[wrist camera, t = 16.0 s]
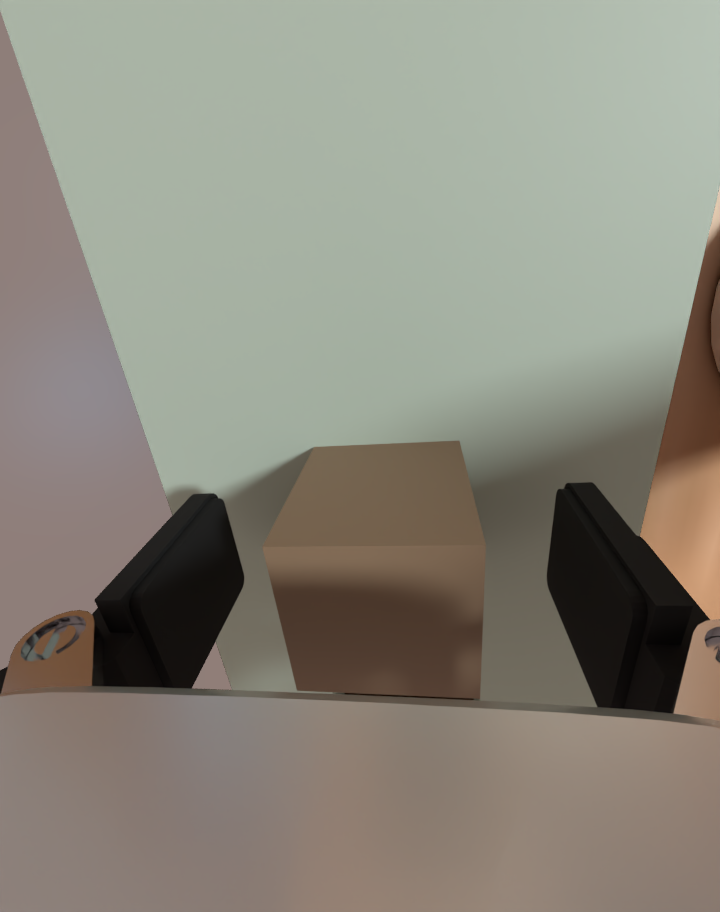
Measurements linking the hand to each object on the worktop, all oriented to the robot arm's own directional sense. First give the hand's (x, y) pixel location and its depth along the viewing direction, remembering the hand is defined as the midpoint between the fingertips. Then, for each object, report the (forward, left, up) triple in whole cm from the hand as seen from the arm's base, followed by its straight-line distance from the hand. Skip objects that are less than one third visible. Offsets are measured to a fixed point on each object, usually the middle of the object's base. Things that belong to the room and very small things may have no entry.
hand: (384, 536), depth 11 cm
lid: (0, 0, -3) cm, 3 cm away
